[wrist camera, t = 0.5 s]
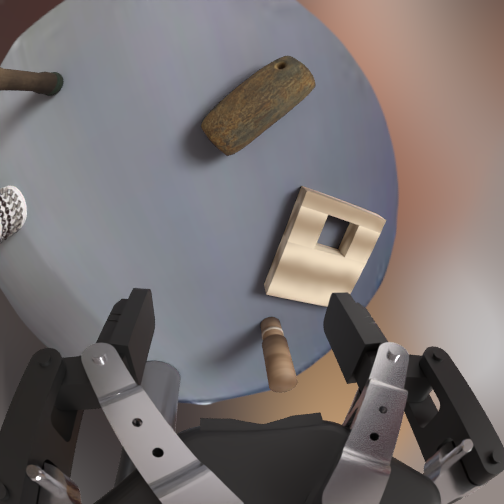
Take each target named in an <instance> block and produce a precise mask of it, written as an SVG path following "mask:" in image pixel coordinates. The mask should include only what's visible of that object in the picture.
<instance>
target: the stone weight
mask: <svg viewBox="0 0 504 504" xmlns="http://www.w3.org/2000/svg"><path fill="white" fill-rule="evenodd" d="M314 87H315V80H314V78H313V75H312V74H311V72H310V71H309V69H308V68H307V67H306V66H305V65H304V64H302V63H301V62H300V61H298V60H296V59H295V58H293V57H291V56H284V57H281V58H279V59H277V60H275V61H273V62H271V63H270V64H268V65H266V66H265V67H263V68H262V69H260V70H259V71H257V72H256V73H255V74H253V75H252V76H251V77H249V78H248V79H247V80H246V81H244V82H243V83H242V84H240V85H239V86H238V87H237V88H236V89H234V90H233V91H232V92H231V93H230V94H229V95H227V96H226V97H225V98H224V99H223V100H222V101H221V102H220V103H219V104H218V105H217V106H216V107H215V108H214V109H213V110H212V111H211V112H210V113H209V114H208V115H207V116H206V117H205V119H204V120H203V122H202V124H201V127H202V130H203V131H204V132H205V134H206V135H207V137H208V138H209V140H210V141H211V142H212V143H213V144H214V145H215V146H216V147H217V148H218V149H219V150H220V151H222V152H223V153H224V154H225V155H227V156H229V155H232V154H235V153H236V152H238V151H240V150H241V149H243V148H244V147H245V146H247V145H248V144H249V143H251V142H252V141H253V140H254V139H255V138H257V137H258V136H259V135H260V134H262V133H263V132H264V131H265V130H267V129H268V128H269V127H270V126H271V125H273V124H274V123H275V122H277V121H278V120H279V119H281V118H282V117H283V116H284V115H286V114H287V113H288V112H289V111H290V110H292V109H293V108H294V107H295V106H296V105H297V104H299V102H301V101H302V100H303V99H304V98H305V97H306V96H307V95H308V94H309V93H310V92H311V91H312V90H313V89H314Z"/></svg>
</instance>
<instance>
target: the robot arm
mask: <svg viewBox="0 0 504 504" xmlns="http://www.w3.org/2000/svg"><path fill="white" fill-rule="evenodd" d="M154 329H155V316H154V309H153V301H152V293H151V290H150V289H139V288H133V290H132V292H131V294H130V296H129V298H128V299H121V300H120V301H119V302H117V303H116V304H115V305H114V307H113V309H112V311H111V313H110V315H109V317H108V319H107V321H106V323H105V325H104V327H103V329H102V331H101V333H100V336H99V338H98V340H97V342H96V343H95V344H92V345H90V346H88V347H87V348H86V349H85V350H84V351H83V353H82V355H81V356H77V357H68V358H62V357H61V355H60V353H59V352H58V351H57V350H55V349H52V348H45V349H42V350H39V351H38V352H36V353H35V354H34V355H33V357H32V358H31V360H30V362H29V364H28V366H27V368H26V370H25V372H24V374H23V376H22V379H21V381H20V383H19V385H18V387H17V390H16V392H15V395H14V397H13V399H12V402H11V404H10V406H9V409H8V411H7V414H6V417H5V420H4V422H3V425H2V428H1V431H0V504H82V503H81V494H80V490H79V488H78V486H77V485H76V483H75V482H74V481H73V480H71V479H70V476H71V470H72V464H73V458H74V453H75V448H76V443H77V438H78V433H79V429H80V424H81V420H82V416H83V412H84V410H85V409H96V408H102V409H103V411H104V413H105V415H106V417H107V419H108V421H109V423H110V424H111V426H112V428H113V430H114V432H115V434H116V435H117V437H118V438H119V440H120V442H121V444H122V452H121V458H120V463H119V467H118V472H117V476H116V480H115V485H114V488H113V489H112V490H110V491H109V492H108V493H107V494H105V495H104V496H103V497H102V498H100V499H99V500H98V501H96V502H95V503H94V504H452V503H454V502H456V501H458V500H460V499H461V498H463V497H466V496H468V495H469V494H471V493H473V492H474V491H476V490H478V489H479V488H481V487H482V486H484V485H485V484H487V483H488V481H489V480H491V479H492V478H494V477H495V476H497V475H498V474H499V473H500V472H502V471H503V470H504V447H503V445H502V443H501V441H500V439H499V437H498V435H497V433H496V432H495V430H494V428H493V426H492V424H491V422H490V420H489V419H488V417H487V415H486V413H485V412H484V410H483V408H482V407H481V405H480V403H479V402H478V400H477V398H476V396H475V395H474V393H473V392H472V390H471V388H470V387H469V385H468V384H467V382H466V380H465V379H464V377H463V376H462V374H461V373H460V371H459V370H458V368H457V367H456V366H455V364H454V362H453V361H452V359H451V358H450V356H449V355H448V354H447V353H446V352H445V351H444V350H442V349H441V348H438V347H428V348H427V349H426V350H425V352H424V353H423V355H422V356H419V355H409V354H408V352H407V350H406V349H405V348H404V347H402V346H401V345H399V344H397V343H393V342H388V341H387V339H386V338H385V336H384V335H383V333H382V332H381V330H380V328H379V327H378V325H377V324H376V323H375V321H374V320H373V318H372V317H371V315H370V314H369V312H368V311H367V309H366V308H365V307H363V306H362V305H361V304H359V303H355V301H354V300H353V298H352V297H351V295H350V294H349V293H348V292H344V293H332V294H331V296H330V299H329V303H328V307H327V311H326V314H325V318H324V332H325V334H326V337H327V339H328V341H329V343H330V346H331V348H332V350H333V352H334V355H335V357H336V359H337V362H338V363H339V366H340V368H341V371H342V373H343V375H344V378H345V380H346V382H347V384H349V383H356V382H357V384H358V386H359V388H358V390H357V392H356V395H355V397H354V400H353V402H352V405H351V407H350V409H349V412H348V414H347V416H346V418H345V420H344V423H343V424H342V425H340V424H338V423H335V422H331V421H324V420H322V416H321V413H313V414H305V415H295V416H290V417H287V418H284V419H281V420H277V421H274V422H270V423H267V424H256V423H251V422H245V421H239V420H235V419H208V418H200V426H198V427H193V428H190V429H187V430H184V431H182V432H180V433H178V434H176V433H175V427H176V415H177V405H178V396H179V387H180V379H181V378H180V374H179V372H178V371H177V370H176V369H175V368H174V367H172V366H171V365H169V364H167V363H163V362H159V361H149V362H146V361H147V357H148V353H149V349H150V345H151V341H152V337H153V334H154ZM432 389H433V390H434V392H435V393H436V395H437V397H438V399H439V401H440V409H439V412H438V410H437V408H436V406H435V404H434V402H433V401H432V399H431V397H430V395H429V393H430V392H431V391H432ZM404 412H405V414H406V416H407V419H408V421H409V423H410V426H411V428H412V430H413V433H414V435H415V437H416V440H417V442H418V445H419V447H420V450H421V452H422V455H423V457H424V459H425V462H426V463H425V466H424V473H423V474H421V473H420V472H418V471H416V470H414V469H412V468H411V467H409V466H407V465H406V464H404V463H402V462H401V461H399V460H397V459H396V458H394V457H392V455H393V452H394V449H395V445H396V442H397V438H398V434H399V430H400V426H401V423H402V418H403V414H404Z"/></svg>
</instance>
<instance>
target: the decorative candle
mask: <svg viewBox="0 0 504 504" xmlns="http://www.w3.org/2000/svg"><path fill="white" fill-rule="evenodd" d="M26 218H27V206H26V202H25V198H24V197H23V195H22V193H21V191H20V190H18V189H17V188H16V187H15V186H10V185H9V186H7V187H4V188H1V190H0V243H2V241H3V239H4V240H6V239H7V237H9V236H12V235H13V233H14V232H17V231H18V229H20V228H21V227H22V226H23V225H24V224H25V221H26Z"/></svg>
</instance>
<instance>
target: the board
mask: <svg viewBox="0 0 504 504" xmlns="http://www.w3.org/2000/svg"><path fill="white" fill-rule="evenodd" d="M328 215H331V216H334V217H336V218H339V219H342V220H345V221H348V222H350V223H349V226H348V228H347V230H346V232H345V235H344V237H343V239H342V242H341V244H340V246H339V248H338V249H336V248H332V247H329V246H325V245H322V244H318V243H317V241H318V238H319V236H320V233H321V231H322V229H323V226H324V224H325V221H326V219H327V216H328ZM385 222H386V220H385V219H384V218H382V217H381V216H379V215H378V214H376V213H373V212H371V211H368V210H366V209H363V208H361V207H358V206H356V205H353V204H350V203H348V202H345V201H342V200H340V199H337V198H334V197H332V196H329V195H326V194H323V193H320V192H318V191H315V190H312V189H309V188H306V187H303V186H301V189H300V191H299V194H298V197H297V199H296V202H295V205H294V207H293V210H292V213H291V215H290V218H289V221H288V223H287V226H286V229H285V231H284V234H283V236H282V239H281V242H280V244H279V247H278V249H277V252H276V255H275V257H274V260H273V262H272V265H271V268H270V270H269V273H268V275H267V278H266V280H265V283H264V286H265V291H266V294H267V295H271V296H276V297H281V298H286V299H291V300H296V301H301V302H306V303H311V304H316V305H321V306H327V307H328V303H329V299H330V296H331V294H332V293H344V292H348V293H349V294H350V293H351V291H352V290H353V288H354V286H355V284H356V282H357V280H358V278H359V276H360V274H361V272H362V270H363V268H364V266H365V264H366V262H367V260H368V258H369V256H370V254H371V252H372V250H373V248H374V246H375V244H376V241H377V239H378V237H379V235H380V233H381V231H382V228H383V226H384V224H385Z"/></svg>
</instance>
